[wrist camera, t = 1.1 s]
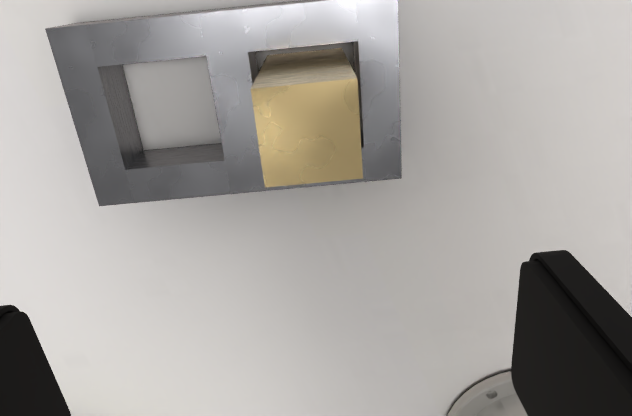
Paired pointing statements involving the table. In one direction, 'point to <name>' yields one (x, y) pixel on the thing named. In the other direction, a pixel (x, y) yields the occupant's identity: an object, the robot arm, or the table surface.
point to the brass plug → (307, 118)
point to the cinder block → (220, 92)
